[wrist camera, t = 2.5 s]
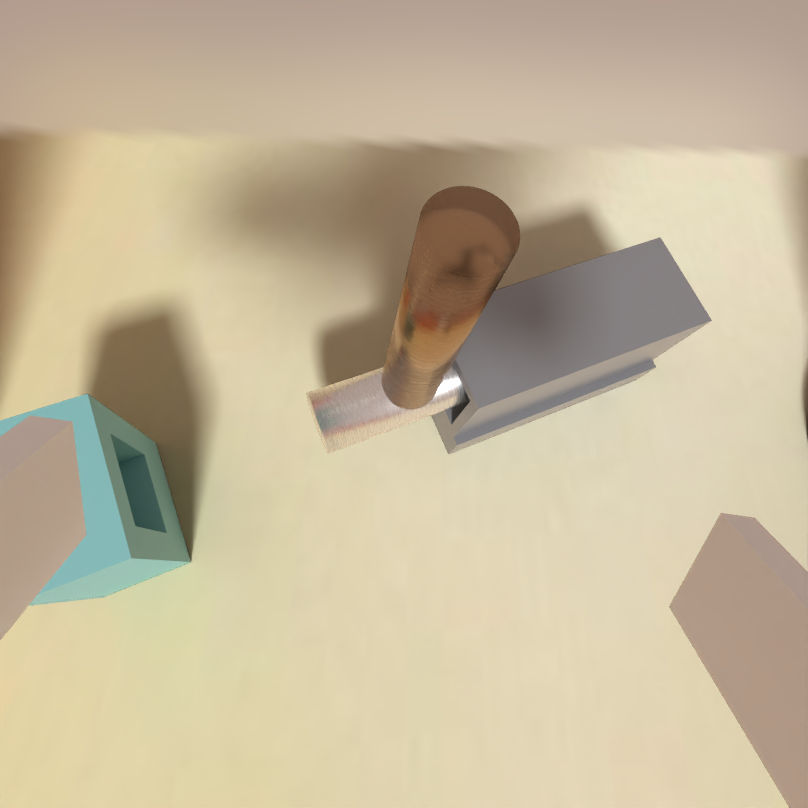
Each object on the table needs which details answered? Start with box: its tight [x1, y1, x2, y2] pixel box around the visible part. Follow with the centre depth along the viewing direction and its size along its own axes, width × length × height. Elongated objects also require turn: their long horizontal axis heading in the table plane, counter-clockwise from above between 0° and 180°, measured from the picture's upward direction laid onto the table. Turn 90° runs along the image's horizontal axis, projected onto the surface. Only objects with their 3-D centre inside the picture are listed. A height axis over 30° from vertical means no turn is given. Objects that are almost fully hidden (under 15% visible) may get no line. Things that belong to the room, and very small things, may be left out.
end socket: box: [0, 394, 191, 606], centre depth 24 cm, size 7×4×8 cm, turn 23°
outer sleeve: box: [431, 238, 712, 454], centre depth 30 cm, size 6×14×8 cm, turn 113°
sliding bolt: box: [306, 186, 520, 454], centre depth 22 cm, size 3×18×15 cm, turn 113°
